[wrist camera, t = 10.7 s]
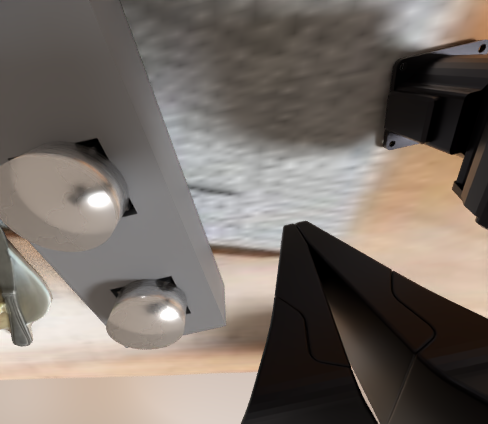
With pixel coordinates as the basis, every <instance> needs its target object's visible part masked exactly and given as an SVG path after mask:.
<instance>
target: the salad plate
mask: <svg viewBox="0 0 488 424" xmlns="http://www.w3.org/2000/svg"><path fill="white" fill-rule="evenodd" d="M52 299H53V298H52V295H51V292H50V290H49V288H48V286H47V285H46V283H45V282H44V280H43V279H42V277H41V276H40V275H39V274H38V273H37V272H36V271H35V270H34V269H33V268H32V267H31V266H30V265H29V264H28V263H27V261H26V260H25V259H24V258H23V257H22V255H21V254H20V253H19V252H18V251H17V250H16V248H15V247H14V246H13V244H12V243H11V242H10V241H9V240H8V239H7V238H6V235H5V233H4V231H3V230H2V228H1V226H0V329H6V330H9V331H10V332H11V337H12V341H13V343H14V344H15V345H18V346H28V345H30V344H31V343H32V341H33V335H32V330H31V325H32V323H33V322H35V321H37V320H39V319H41V318H42V317H44V316H45V315H46V313H47V312H48V310H49V308H50V305H51V302H52Z"/></svg>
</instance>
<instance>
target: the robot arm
mask: <svg viewBox="0 0 488 424" xmlns="http://www.w3.org/2000/svg"><path fill="white" fill-rule="evenodd" d="M480 46H481V47H480ZM479 47H480V50H479V51H478V49H479ZM487 53H488V40H478V41H473V42H469V43H465V44H461V45H456V46H452V47H448V48H444V49H439V50H435V51H431V52H427V53H422V54H418V55H414V56H410V57H405V58H401V59H399V60H397V61H396V62H395V64H394V66H393V71H392V79H391V87H390V94H389V96H388V103H387V111H386V119H385V134H384V142H383V146H384V148H386V149H388V150H393V149H397V148H401V147H406V146H410V145H414V144H419V143H420V144H425V145H428V146H430V147H433V148H435V149H438V150H440V151H443V152H446V153H448V154H451V155H453V154H454V155H457V156H459V157H462V158H464V159H463V162H462V165H461V168H460V171H459V175H458V178H457V180H456V181H454V184H453V187H452V190H453V191H454V192H455V193H456V194H457V195H458V197H459V198H460V199H461V200H462V201H463V204H464V206H465V207H466V208H467V209H469V210H470V211H471V212H472V213H473V214H474V215H475V216H476V219H475V221H476V223H478V224H479V225H480V226H481V227H483V228H485V229H487V230H488V54H487ZM402 63H403V68H402V70H400V66H401V65H402ZM391 141H392V144H391V145H389V144H390V142H391ZM350 364H351V365H350ZM351 366H352V368H353V370H354V372H355V374H356V376H357V378H358V380H359V382H360V384H361V386H362V388H363V390H364V392H365V394H366V396H367V398H368V400H369V402H370V404H371V406H372V408H373V410H374V412H375V414H376V416H377V418H378V420H379V422H380V424H488V319H487V318H485V317H483V316H481V315H479V314H477V313H475V312H473V311H471V310H468V309H466V308H464V307H462V306H460V305H458V304H456V303H454V302H452V301H450V300H448V299H446V298H444V297H442V296H440V295H438V294H436V293H434V292H432V291H430V290H428V289H426V288H424V287H422V286H420V285H418V284H417V283H415V282H413V281H411V280H409V279H407V278H406V277H404V276H402V275H400V274H399V273H397V272H395V271H392V270H391V269H390V268H388V267H386V266H384V265H383V264H381V263H379V262H378V261H376V260H374V259H372V258H371V257H369V256H367V255H365V254H364V253H362V252H360V251H358V250H357V249H355V248H353V247H351V246H350V245H348V244H346V243H344V242H343V241H341V240H339V239H337V238H336V237H334V236H332V235H330V234H329V233H327V232H325V231H323V230H322V229H320V228H318V227H317V226H315V225H313V224H311V223H310V222H308V221H302V222H298V223H296V224H289V225H285V226H284V227H283V233H282V241H281V249H280V257H279V265H278V274H277V282H276V290H275V298H274V305H273V312H272V318H271V324H270V328H269V332H268V337H267V341H266V345H265V348H264V352H263V355H262V359H261V363H260V366H259V370H258V373H257V377H256V381H255V384H254V388H253V391H252V394H251V398H250V401H249V404H248V407H247V410H246V412H245V415H244V417H243V420H242V422H241V424H378V422H377V421H376V419H375V417H374V415H373V414H372V412H371V410H370V409H369V407H368V405H367V403H366V402H365V400H364V398H363V396H362V393H361V391H360V389H359V387H358V384H357V382H356V379H355V377H354V374H353V371H352V369H351Z"/></svg>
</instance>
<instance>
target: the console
mask: <svg viewBox="0 0 488 424" xmlns="http://www.w3.org/2000/svg"><path fill="white" fill-rule="evenodd" d="M94 138H98V140H99V142H100V144H101V146H102V148H103V150H104V152H105V153H106V155H107V157H108V159H109V160H110V161H111V162H112V163H113V164H114V165H115V166H116V167H117V168H118V170H119V171H120V172H121V174H122V175H123V177H124V179H125V181H126V183H127V186H128V190H129V198H130V200H131V202H132V204H133V206H134V207H135V208H131V209H129V210H128V211H125V212H124V214H123V216H122V217H121V219H120V221H119V222H118V224H117V226H116V228H115V229H114V231H113V233H112V234H111V236H110V237H109V238H108V239H107V240H106V241H105V242H104V243H103V244H101V245H99V246H98V247H95V248H93V249H90V250H86V251H80V252H64V251H57V250H52V249H48V248H44V247H42V246H39V245H36V244H34V243H32V242H30V241H29V242H30V243H31V244H32V245H33V247H34V248H35V249H36V250H37V251H38V252H39V253H40V254H41V255H42V256H43V258H44V259H45V260H46V261H47V262H48V263H49V264H50V265H51V266H52V267H53V268H54V270H55V271H56V272H57V273H58V274H59V275H60V276H61V277H62V278H63V279H64V280H65V282H66V283H67V284H68V285H69V286H70V287H71V288H72V289H73V290H74V291H75V293H76V294H77V295H78V296H79V297H80V298H81V299H82V300H83V301H84V302H85V303H86V305H87V306H88V307H89V308H90V309H91V310H92V311H93V312H94V313H95V314H96V316H97V317H98V318H99V319H100V320H101V321H102V322H103V323H104V324H105V325H106V324H107V321H108V319H109V316H110V314H111V311H112V309H113V306H114V304H115V301H116V299H117V296H118V293H117V291H118V288H120V287H124V286H126V285H128V284H130V283H132V282H135V281H138V280H145V279H160V278H164V277H169V276H172V278H173V280H174V282H175V284H176V286H177V287H179V288H180V289H181V290H182V291H183V292H184V294H185V295H186V298H187V308H186V318H185V327H184V333H183V335H187V334H191V333H196V332H201V331H205V330H210V329H214V328H219V327H223V326H226V312H225V291H224V283H223V280H222V278H221V275H220V272H219V269H218V267H217V264H216V261H215V259H214V256H213V253H212V250H211V248H210V245H209V242H208V240H207V237H206V234H205V231H204V229H203V226H202V223H201V221H200V218H199V215H198V212H197V210H196V207H195V204H194V201H193V199H192V196H191V193H190V191H189V188H188V185H187V182H186V180H185V177H184V174H183V172H182V169H181V166H180V163H179V161H178V158H177V155H176V153H175V150H174V147H173V144H172V142H171V139H170V136H169V134H168V131H167V128H166V125H165V123H164V120H163V117H162V115H161V112H160V109H159V106H158V104H157V101H156V98H155V95H154V93H153V90H152V87H151V85H150V82H149V79H148V76H147V74H146V71H145V68H144V66H143V63H142V60H141V57H140V55H139V52H138V49H137V47H136V44H135V41H134V38H133V36H132V33H131V30H130V28H129V25H128V22H127V19H126V17H125V14H124V11H123V9H122V6H121V3H120V0H0V166H1V165H2V164H4V163H6V162H8V161H10V160H12V159H14V158H16V157H18V156H20V155H22V154H24V153H26V152H28V151H30V150H33V149H35V148H37V147H39V146H41V145H43V144H46V143H51V142H72V143H77V142H81V141H85V140H90V139H94ZM125 347H126V348H128V347H127V346H125Z"/></svg>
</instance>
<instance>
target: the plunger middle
mask: <svg viewBox="0 0 488 424" xmlns="http://www.w3.org/2000/svg"><path fill="white" fill-rule="evenodd" d="M131 206H132V202H131V200H130V198H129V190H128V186H127V183H126V181H125V179H124V177H123V175H122V174H121V172H120V171H119V170H118V168H117V167H116V166H115V165H114V164H113V163H112V162H111V161H110V160H109V159H108V157H107V155H106V153H105V152H104V150H103V148H102V146H101V144H100V142H99V140H98V138H94V139H90V140H85V141H81V142H77V143H72V142H51V143H46V144H43V145H41V146H39V147H37V148H35V149H33V150H30V151H28V152H26V153H24V154H22V155H20V156H18V157H16V158H14V159H12V160H10V161H8V162H6V163H4V164H2V165H1V166H0V219H1V220H2V221H3V223H4V224H6V225H7V226H8V227H9V228H10V229H11V230H12V231H14V232H15V233H16V234H18V235H19V236H21V237H22V238H24V239H26V240H28V241H30V242H32V243H34V244H36V245H39V246H42V247H44V248H48V249H52V250H57V251H64V252H80V251H86V250H90V249H93V248H95V247H98V246H99V245H101V244H103V243H104V242H105V241H106V240H107V239H108V238H109V237H110V236H111V234H112V233H113V231H114V229H115V228H116V226H117V224H118V222H119V221H120V219H121V217H122V216H123V214H124V212H125V211H128V210H129V209H130V208H131Z"/></svg>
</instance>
